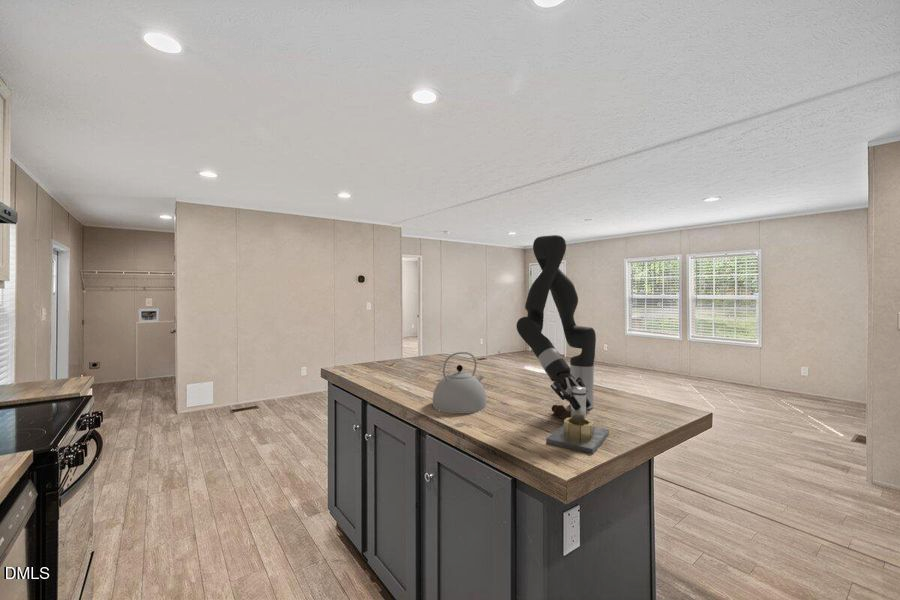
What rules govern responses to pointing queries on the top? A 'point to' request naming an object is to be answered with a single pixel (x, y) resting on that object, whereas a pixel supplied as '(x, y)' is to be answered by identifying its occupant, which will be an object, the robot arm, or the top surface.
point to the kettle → (460, 391)
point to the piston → (581, 398)
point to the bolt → (561, 411)
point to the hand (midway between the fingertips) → (583, 407)
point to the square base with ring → (578, 436)
